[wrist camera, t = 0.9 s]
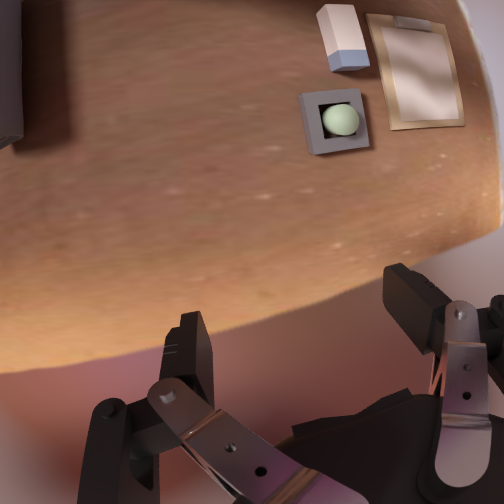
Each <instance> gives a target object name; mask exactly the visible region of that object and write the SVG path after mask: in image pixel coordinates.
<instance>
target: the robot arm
mask: <svg viewBox="0 0 504 504" xmlns="http://www.w3.org/2000/svg"><path fill="white" fill-rule="evenodd" d="M383 303H384V306H385V308H386V310H387V311H388V312H389V314H390V315H391V316H392V317H393V318H394V320H395V321H396V322H397V323H398V324H399V326H400V327H401V328H402V329H403V331H404V332H405V333H406V334H407V336H408V337H409V338H410V339H411V341H412V342H413V343H414V344H415V346H416V347H417V348H418V350H419V351H420V352H421V353H422V355H425V354H427V353H430V352H432V351H433V352H434V353H435V355H434V358H433V366H432V374H431V382H430V389H429V394H415V395H412V394H411V392H410V391H409V389H408V388H406V389H403V390H401V391H398V392H396V393H393V394H391V395H388V396H386V397H383V398H381V399H380V400H378V401H377V402H375V403H374V404H372V405H370V406H369V407H367V408H366V409H364V410H363V411H361V412H359V413H358V414H355V415H348V416H339V417H328V418H320V419H316V420H313V421H309V422H305V423H301V424H297V425H294V426H291V427H292V432H293V434H292V435H290V436H288V437H286V438H285V439H283V440H281V441H280V442H279V443H277V444H276V445H275V446H272V445H270V444H269V443H267V442H266V441H265V440H263V439H262V438H260V437H259V436H257V435H256V434H254V433H253V432H252V431H251V430H249V429H248V428H247V427H245V426H244V425H243V424H241V423H240V422H238V421H237V420H236V419H235V418H233V417H232V416H231V415H229V414H228V413H227V412H225V411H224V410H222V409H220V410H218V411H216V410H215V405H214V383H213V352H212V346H211V342H210V338H209V335H208V333H207V330H206V327H205V324H204V321H203V318H202V315H201V313H200V311H195V312H190V313H185V314H182V315H181V320H180V327H175V328H172V329H171V330H170V332H169V333H168V334H167V336H166V339H165V345H164V346H165V348H164V351H163V357H162V363H161V370H160V376H159V381H158V382H156V383H155V384H154V385H153V386H152V387H151V388H150V389H149V392H148V394H147V397H146V398H144V399H142V400H139V401H136V402H133V403H131V404H128V405H126V404H125V403H124V402H123V401H122V400H121V399H118V398H109V399H106V400H104V401H102V402H100V403H99V404H98V405H97V406H96V407H95V408H94V410H93V413H92V417H91V421H90V426H89V431H88V436H87V441H86V447H85V452H84V458H83V463H82V470H81V476H80V484H79V492H78V500H77V504H160V486H159V485H160V484H159V453H161V452H164V451H167V450H170V449H172V448H175V447H178V446H181V447H182V448H183V449H184V450H185V451H186V452H187V453H188V454H189V455H190V456H191V457H192V458H193V459H194V460H195V461H196V462H197V463H198V464H199V465H200V466H201V467H202V468H203V469H204V470H205V471H206V472H207V473H208V474H209V475H210V476H211V477H212V478H213V479H214V480H215V481H216V482H217V483H218V484H219V485H220V486H221V487H222V488H223V489H224V490H225V491H226V492H227V493H229V494H230V495H231V496H232V497H233V498H234V499H236V500H235V501H234V503H233V504H504V418H501V417H498V416H495V415H491V414H489V413H488V408H489V407H488V406H489V384H488V374H489V375H490V377H491V378H492V379H493V381H494V382H495V383H496V385H497V386H498V387H499V389H500V390H501V392H502V393H503V394H504V295H497V296H494V297H493V298H492V299H491V302H490V306H489V307H488V308H481V309H476V308H475V307H474V306H473V305H472V304H470V303H468V302H465V301H452V300H451V299H450V298H449V297H448V296H446V295H445V294H444V293H443V292H442V291H441V290H440V289H439V288H438V287H435V285H434V284H433V283H432V282H430V281H429V280H428V279H427V278H426V277H425V276H424V275H422V274H420V273H417V272H415V271H413V270H412V271H410V270H409V269H408V268H407V267H406V266H405V265H403V264H402V263H397V264H394V265H390V266H386V267H385V268H384V273H383Z"/></svg>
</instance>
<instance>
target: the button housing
mask: <svg viewBox="0 0 504 504" xmlns="http://www.w3.org/2000/svg"><path fill="white" fill-rule="evenodd" d="M298 100H299V105H300V110H301V115H302V119H303V124H304V130H305V135H306V140H307V145H308V151H309V154H313V155H316V154H322V153H328V152H334V151H340V150H347V149H353V148H360V147H367V146H369V139H368V132H367V126H366V120H365V114H364V109H363V103H362V98H361V93H360V88H354V89H340V90H329V91H319V92H310V93H302V94H300V95H298ZM335 103H344V104H346V105H349V106H351V107H353V108H354V109H355V110H356V112H357V114H358V116H359V126H358V128H357V130H356V131H355V132H354V133H352V134H350V135H343V136H336V137H329V138H324V134H323V128H322V123H321V118H320V113H319V108H318V105H326V104H335Z"/></svg>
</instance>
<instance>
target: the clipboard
mask: <svg viewBox="0 0 504 504" xmlns="http://www.w3.org/2000/svg"><path fill="white" fill-rule="evenodd" d="M365 17H366V21H367V24H368V27H369V31H370V34H371V38H372V42H373V46H374V49H375V53H376V58H377V62H378V66H379V70H380V75H381V80H382V85H383V90H384V95H385V100H386V106H387V112H388V118H389V124H390V130H399V129H410V128H424V127H442V126H465V121H464V113H463V105H462V99H461V92H460V87H459V81H458V76H457V71H456V66H455V62H454V57H453V53H452V49H451V45H450V41H449V38H448V34H447V31H446V27H445V25H444V24H439V23H434V22H429V21H427V20H422V19H416V18H410V17H403V16H389V15H380V14H368V13H367V14H365Z"/></svg>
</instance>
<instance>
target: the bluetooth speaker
mask: <svg viewBox="0 0 504 504" xmlns="http://www.w3.org/2000/svg"><path fill="white" fill-rule="evenodd" d="M21 1H22V0H0V149H2V148H4V147H6V146H7V145H9V144H11V143H13V142H15V141H17V140H20V139H22V138H23V136H24V126H23V105H22V76H21V70H22V40H21Z"/></svg>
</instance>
